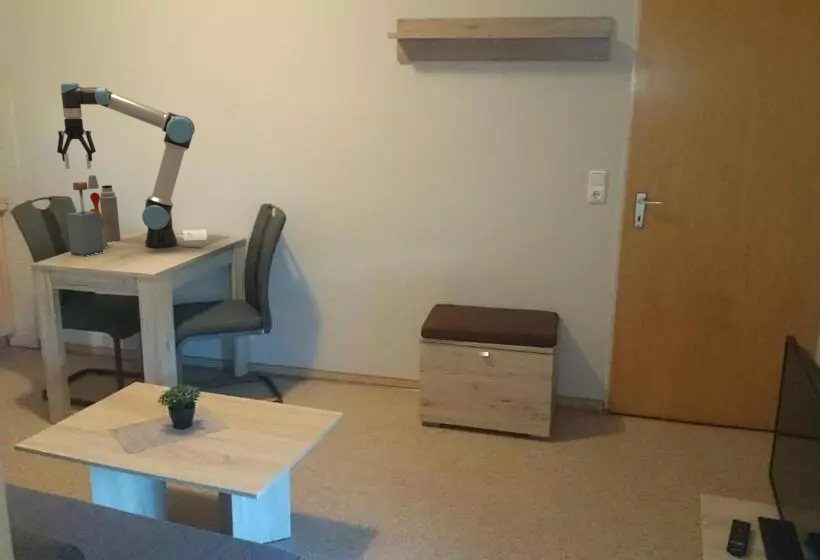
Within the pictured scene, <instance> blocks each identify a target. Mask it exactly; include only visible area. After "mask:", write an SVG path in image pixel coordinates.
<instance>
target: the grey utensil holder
mask: <svg viewBox="0 0 820 560" xmlns="http://www.w3.org/2000/svg"><path fill="white" fill-rule="evenodd" d="M84 211H85V214H81V211H76V212H70V213H66V219H67V220H66V221H67V222H66V223H67V231H68V241H69V248H70V255H72V254H76V255H75V256H79V255H85V256H84V257H88V256H87V255H90V256H92V255H91V254H94V255H96V254H95V253H99V254H101V253H100V252H103V253H104V249H103V243H102V233H101V223H100V213H101V212H100V213H99V212H90V210H89V211H88V210H84Z"/></svg>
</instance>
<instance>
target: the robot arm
mask: <svg viewBox="0 0 820 560" xmlns="http://www.w3.org/2000/svg"><path fill="white" fill-rule="evenodd" d="M60 91H61V92H60V93H61V94H60V95H61V101H62V110H63V118H64V119H63V120H64V121H63V122H64V127H65V128H64V130H58V131H57V133H58V141H57V142H58V143H57V149H56V153H58V154H61V158H62V162H64V167H65V170H68V169H70V160H69V159H70V158H69V154H68V150H69V147H70V144H71V142H72V141H73V140H78V141H79V142H80V144H81V145H82V147H83V148H84V150H85V151H86V154H85V160H86V168H87V170H90V169H92V164H91V163H92V162H93V154H94V153H96V151H97V150H96V148H95V144H94V141H93V139H92V131H91V130H85V129H84V121H83V118H82V117H83V114H82V113H83V111H82V105H94V106H95V105H100V106H102V107H105V108H107V109H110V110H113V111H115V112H118V113H120V114H123V115H125V116H127V117H130V118H133V119H136V120H138V121H141V122H143V123H144V122H145V123H146V124H148V125H151V126H153V127H157V128H159V129H161V131H162V132H165V135H164V138H163V143H164V144H165V147H164V151H163V154H162V159H161V161H160V162H161V163H160V166H159V169H158V173H157V177H156V180H155V182H154V183H155V184H154V187H153V192H152V194H151V195H149V196H148V197H147V199H146V200H145V207H144V209H143V211H142V215H141V217H142V221H143V223H144V225H145V226H146V227H147V231H146V232H147V233H146V239H145V242H144V243H145V244H144V246H145V247H146V246H147V248H154V247H160V248H168V247H174V246H177V245H178V238H177V237H176V234H175V231H174V228H173V217H172V215H173V213H172V209H173V205H174V203H173V202H172V198H173V197H172V196H173V194H174V190H175V187H176V182H177V179H178V176H179V173H180V168H181V165H182V162H183V159H184V154H185V151H187V150H189V149H190V146H191V143H192V139H193V137H194V134H195V131H196V130H195V129H196V128H195V124H194V122H193V121H192V120H191V119H190V117H188V116H185V115H180V114H176V113H174V112H173V113H172V112H170V111H169V112H164V111H161V110H159V109H156V108H154V107H151V106H148V105H145V104H143V103H140V102H138V101H135V100H133V99H131V98H129V97H125V96H123V95H121V94H117V93H115V92H112V91H110V90H108V88H107V87H102V86H98V87H96V86H94V87H81V86H80V85H79V83H78V82H62V83H61V85H60ZM65 135H66V136H67V137H66V139H65V138H64V137H65ZM84 136H86V140H87V142H88V143H87V142H86V140H85V138H84ZM64 139H65V143H64ZM154 249H155V248H154Z"/></svg>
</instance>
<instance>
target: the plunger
mask: <svg viewBox="0 0 820 560" xmlns="http://www.w3.org/2000/svg"><path fill="white" fill-rule="evenodd" d="M72 187H73V188H72V189H73V191H78V192H79V193H78V194H79V202H80V203H79V204H80V212H81V214H85V211H86V210H85V204H84V203H85V202H84V201H85V200H84V193H83V191H87V190H89V189H88V182H87V181H80V182H79V181H77V182H73V183H72Z"/></svg>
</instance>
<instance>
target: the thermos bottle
mask: <svg viewBox="0 0 820 560" xmlns="http://www.w3.org/2000/svg"><path fill="white" fill-rule="evenodd" d="M99 204H100V206H99V207H100V213H101V215H102V216H106V220H105V224H104V228H103V234H104V236H105V239H106V241H107V243H112V241H115V242H118V241H119V240H120V241H121V232H120V221H119V220H120V218H119V210H118V199H117V195H116V194H115V191H113V185H109V184H108V185H107V184H105V185H102V186H101V192H100V199H99Z"/></svg>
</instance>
